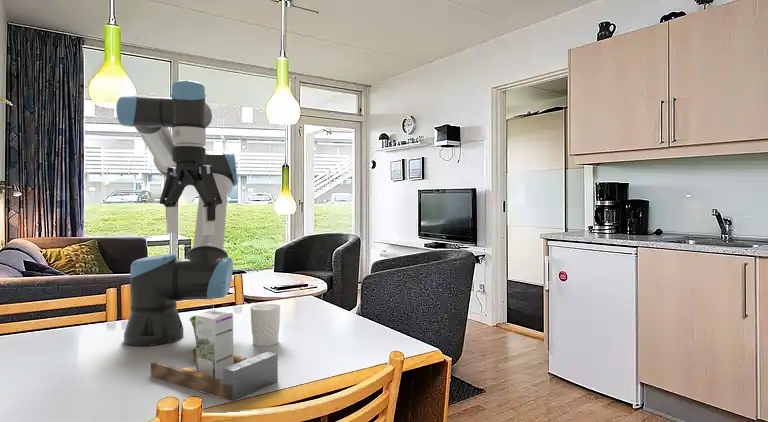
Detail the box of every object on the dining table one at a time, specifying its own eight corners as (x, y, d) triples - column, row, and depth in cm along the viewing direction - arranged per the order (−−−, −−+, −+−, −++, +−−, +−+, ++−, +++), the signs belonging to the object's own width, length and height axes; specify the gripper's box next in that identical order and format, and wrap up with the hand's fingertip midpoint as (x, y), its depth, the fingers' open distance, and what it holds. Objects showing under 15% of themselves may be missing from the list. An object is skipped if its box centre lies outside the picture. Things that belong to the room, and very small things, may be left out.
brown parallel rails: (150, 376, 106) (150, 360, 106) (197, 360, 116) (197, 345, 116) (231, 401, 93) (231, 383, 93) (276, 380, 103) (276, 364, 103)
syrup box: (235, 377, 105) (234, 311, 105) (214, 386, 100) (213, 317, 100) (216, 372, 108) (215, 308, 108) (195, 381, 103) (194, 314, 102)
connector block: (223, 398, 94) (223, 368, 94) (267, 378, 104) (267, 351, 104) (233, 401, 92) (233, 371, 92) (277, 381, 103) (277, 353, 103)
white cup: (272, 348, 126) (272, 310, 126) (245, 346, 128) (245, 309, 127) (285, 339, 134) (284, 303, 133) (258, 338, 135) (258, 302, 135)
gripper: (143, 147, 119) (144, 232, 120) (210, 141, 107) (211, 236, 107) (170, 150, 126) (171, 231, 126) (237, 144, 113) (237, 234, 113)
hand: (190, 234), depth 117 cm, fingers open, 13 cm apart
